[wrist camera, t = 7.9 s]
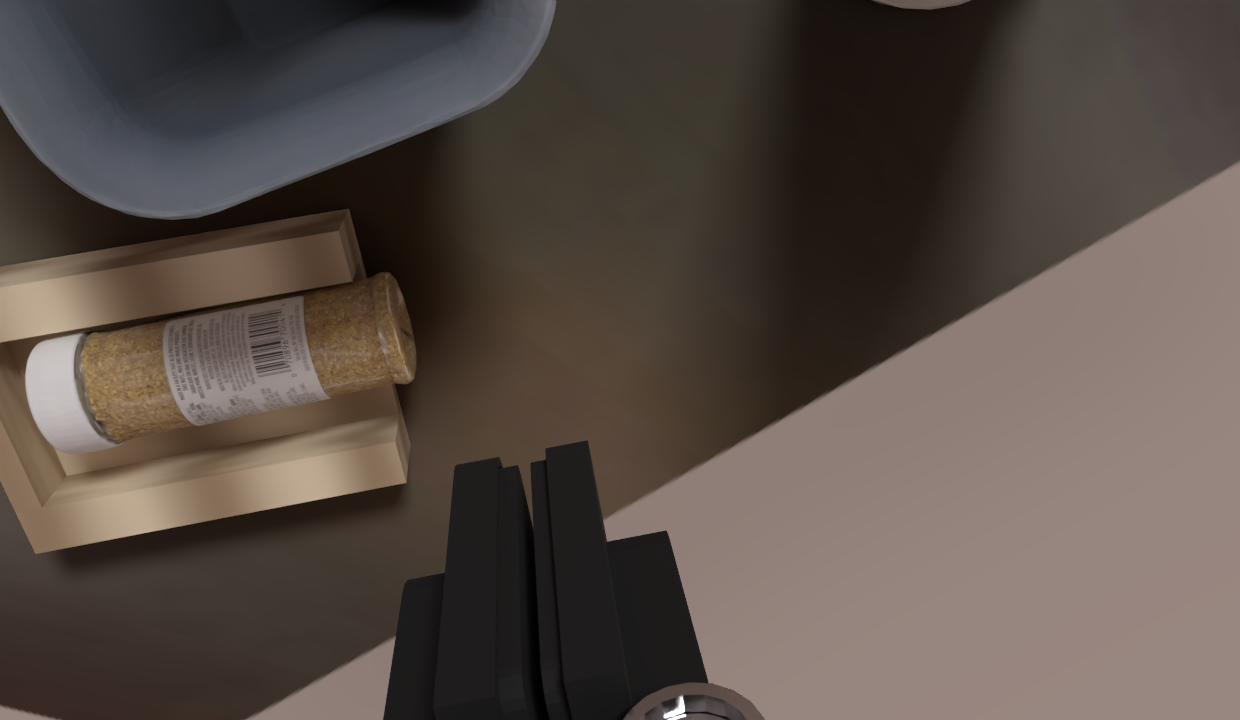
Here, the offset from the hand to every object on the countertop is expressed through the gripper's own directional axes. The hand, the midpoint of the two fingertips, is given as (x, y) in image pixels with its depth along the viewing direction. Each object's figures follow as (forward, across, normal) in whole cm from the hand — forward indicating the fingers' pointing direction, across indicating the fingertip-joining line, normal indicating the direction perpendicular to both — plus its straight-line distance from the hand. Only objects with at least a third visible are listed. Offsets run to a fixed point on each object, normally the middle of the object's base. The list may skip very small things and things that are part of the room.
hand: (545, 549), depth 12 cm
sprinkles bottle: (+24, +6, +6) cm, 26 cm away
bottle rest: (+27, +15, +7) cm, 32 cm away
